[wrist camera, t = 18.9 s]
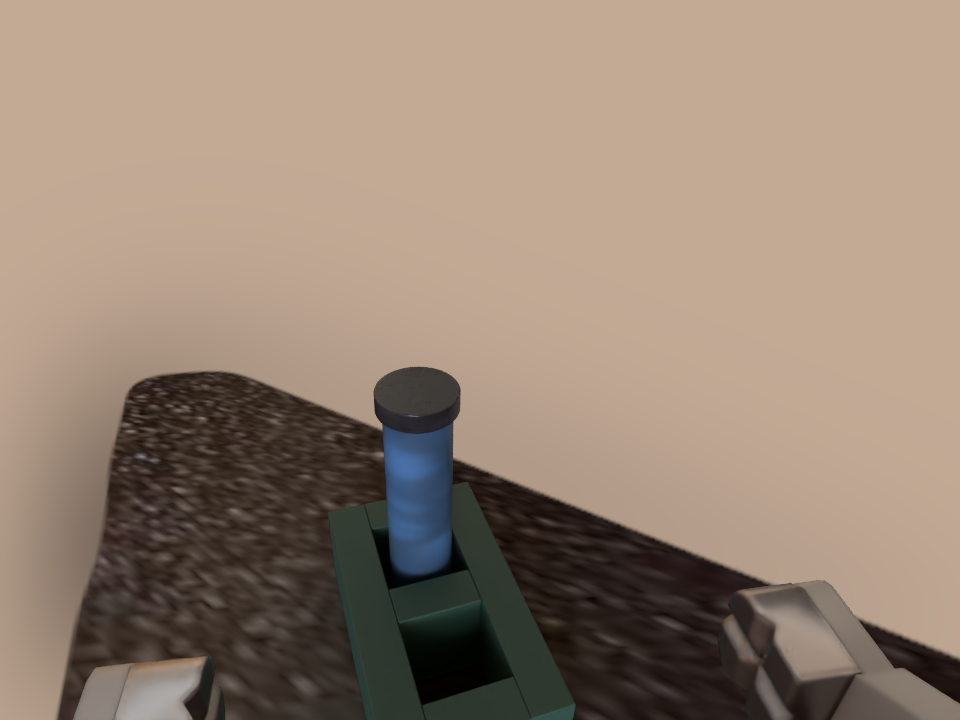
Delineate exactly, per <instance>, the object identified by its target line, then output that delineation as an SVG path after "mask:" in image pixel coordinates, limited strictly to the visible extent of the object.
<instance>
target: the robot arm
mask: <svg viewBox="0 0 960 720" xmlns="http://www.w3.org/2000/svg"><path fill="white" fill-rule="evenodd" d="M728 606H729V608H730V609H731V611H732V613H733V614H731V615H730V616H729V617H728V618H727V619H726V620H724V621H723V622H722V624H721V627H720V630H719V634H718V645H719V654H720V657H721V660H722V663H723V666H724V668H725V670H726V672H727V674H728V677H729V679H730V681H731V682H732V683H733V684H735V685H736V686H737V687H739V688H740V689H741V690H743V691H744V692H745V693H747V696H746V703H745V710H746V712H747V714H748V716H749V718H750V719H751V720H960V704H959V703H957V702H956V701H954V700H953V699H951V698H949V697H948V696H946V695H945V694H943V693H942V692H940V691H938V690H937V689H935V688H934V687H932V686H931V685H929V684H927V683H926V682H924V681H923V680H921V679H920V678H918V677H917V676H915V675H913V674H912V673H910V672H909V671H907V670H906V669H904V668H900V669H894V667H893V666H892V665H891V663H890V662H889V661H888V659H887V658H886V657H885V655H884V654H883V653H882V651H881V650H880V649H879V647H878V646H877V645H876V643H875V642H874V641H873V639H872V638H871V637H870V635H869V634H868V633H867V631H866V630H865V629H864V627H863V626H862V625H861V623H860V622H859V621H858V619H857V618H856V617H855V615H854V614H853V613H852V611H851V610H850V609H849V607H848V606H847V605H846V603H845V602H844V601H843V599H842V598H841V597H840V596H839V594H838V593H837V591H836V590H835V589H834V588H833V586H831V585H830V584H829V583H827V582H826V581H820V580H816V581H810V582H803V583H795V584H792V583H788V584H781V585H773V586H766V587H759V588H752V589H745V590H738V591H737V592H735V593H734V594H732V596H731V599H730V601H729V604H728ZM214 675H215V666H214V663H213V660H212V657H211V655H208V656H199V657H189V658H180V659H171V660H162V661H152V662H143V663H130V664H122V665H114V666H106V667H98V668H95V670H94V671H93V673H92V674H91V675H90V677H89V678H88V680H87V682H86V684H85V687H84V690H83V693H82V696H81V699H80V701H79V704H78V707H77V710H76V713H75V716H74V719H73V720H225V706H224V697H223V693H222V690H221V687H220V686H218V685H216V684H214V683H213V680H214Z"/></svg>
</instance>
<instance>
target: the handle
mask: <svg viewBox="0 0 960 720" xmlns="http://www.w3.org/2000/svg"><path fill="white" fill-rule="evenodd" d="M374 406H375V414H376V416H377V418H378V419H379V421H380V422H381V423H382V425H383V443H384V460H385V478H386V495H387V513H388V530H389V547H390V565H391V582H392V589H394V588H398V587H402V586H406V585H410V584H414V583H418V582H421V581H425V580H429V579H433V578H437V577H441V576H445V575H449V574H451V557H452V479H453V421H454V420H455V419H456V418H457V416H458V414H459V412H460V386H459V384H458V382H457V381H456V380H455V379H454V378H453V377H452V376H451V375H449V374H447V373H446V372H443V371H441V370H438V369H434V368H428V367H409V368H403V369H399V370H396V371H393V372H391V373H389V374H387V375H385V376H384V377H383V378H381V379H380V380H379V381H378V383H377V384H376V386H375V388H374Z"/></svg>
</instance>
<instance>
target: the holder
mask: <svg viewBox="0 0 960 720" xmlns="http://www.w3.org/2000/svg"><path fill="white" fill-rule="evenodd" d="M328 516H329V524H330V532H331V540H332V549H333V557H334V565H335V573H336V578H337V583H338V587H339V592H340V597H341V602H342V606H343V611H344V616H345V621H346V625H347V630H348V635H349V640H350V644H351V649H352V654H353V659H354V663H355V668H356V673H357V678H358V682H359V687H360V692H361V696H362V701H363V706H364V711H365V715H366V720H573V715H574V710H575V702H574V700H573V698H572V696H571V694H570V691H569V689H568V687H567V685H566V683H565V681H564V679H563V677H562V675H561V673H560V671H559V669H558V667H557V665H556V663H555V661H554V659H553V656H552V654H551V652H550V650H549V648H548V646H547V644H546V642H545V640H544V638H543V636H542V634H541V632H540V630H539V628H538V626H537V624H536V621H535V619H534V617H533V615H532V613H531V611H530V609H529V607H528V605H527V603H526V601H525V599H524V597H523V595H522V593H521V591H520V588H519V586H518V584H517V582H516V580H515V578H514V576H513V574H512V572H511V570H510V568H509V566H508V564H507V562H506V560H505V558H504V556H503V553H502V551H501V549H500V547H499V545H498V543H497V541H496V539H495V537H494V535H493V533H492V531H491V529H490V527H489V525H488V523H487V521H486V518H485V516H484V514H483V512H482V510H481V508H480V506H479V504H478V502H477V500H476V498H475V496H474V494H473V492H472V490H471V488H470V486H469V483H468V482H464V483H460V484H455V485H452V557H451V574H449V575H445V576H441V577H437V578H433V579H429V580H425V581H421V582H418V583H414V584H410V585H406V586H402V587H398V588H394V589H390V590H388V587H392V582H391V565H390V547H389V530H388V513H387V500H382V501H378V502H373V503H368V504H365V506H364V505H358V506H354V507H349V508H344V509H340V510H335V511H331V512H328ZM478 662H479V664H480V667H481V670H482V672H483V675H484V678H485V680H486V683H487V685H485V686H482V687H479V688H475V689H472V690H469V691H466V692H463V693H459V694H456V695H453V696H450V697H447V698H444V699H440V700H437V701H434V702H431V703H428V704H425V705H423V706H422V705H421V701H420V698H419V694H418V691H417V687H416V684H415V682H416V681H420V680H423V679H426V678H430V677H433V676H436V675H440V674H443V673H446V672H449V671H453V670H456V669H459V668H463V667H466V666H469V665H473V664H476V663H478Z"/></svg>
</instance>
